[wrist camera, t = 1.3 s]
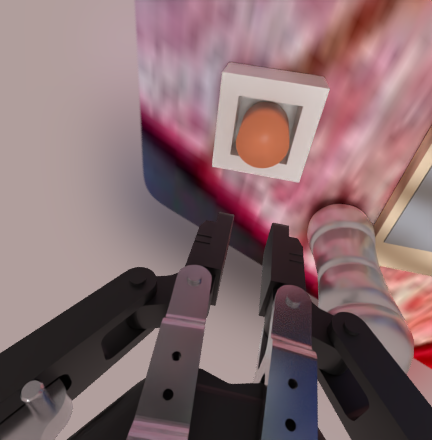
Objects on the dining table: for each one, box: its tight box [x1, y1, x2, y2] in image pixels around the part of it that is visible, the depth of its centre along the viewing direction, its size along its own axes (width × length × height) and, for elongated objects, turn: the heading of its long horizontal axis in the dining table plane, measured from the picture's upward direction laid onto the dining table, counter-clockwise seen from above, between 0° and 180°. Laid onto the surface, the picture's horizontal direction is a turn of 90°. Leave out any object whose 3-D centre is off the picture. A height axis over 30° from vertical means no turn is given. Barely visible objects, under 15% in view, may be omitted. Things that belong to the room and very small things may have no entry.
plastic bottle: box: [307, 204, 414, 375], centre depth 25 cm, size 6×7×20 cm
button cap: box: [236, 102, 289, 168], centre depth 24 cm, size 4×4×4 cm
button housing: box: [212, 62, 330, 183], centre depth 26 cm, size 8×8×4 cm
